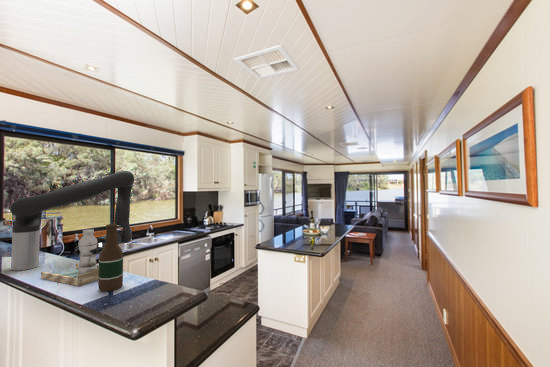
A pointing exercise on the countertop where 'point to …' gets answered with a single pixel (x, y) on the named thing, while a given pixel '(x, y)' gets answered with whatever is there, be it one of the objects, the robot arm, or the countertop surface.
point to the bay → (72, 276)
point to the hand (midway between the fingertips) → (84, 252)
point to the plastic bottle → (87, 252)
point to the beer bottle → (110, 262)
